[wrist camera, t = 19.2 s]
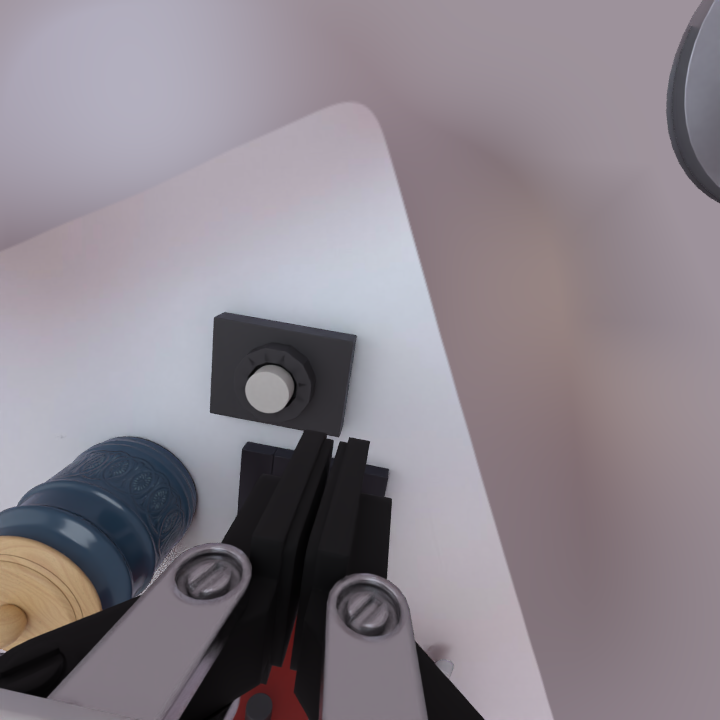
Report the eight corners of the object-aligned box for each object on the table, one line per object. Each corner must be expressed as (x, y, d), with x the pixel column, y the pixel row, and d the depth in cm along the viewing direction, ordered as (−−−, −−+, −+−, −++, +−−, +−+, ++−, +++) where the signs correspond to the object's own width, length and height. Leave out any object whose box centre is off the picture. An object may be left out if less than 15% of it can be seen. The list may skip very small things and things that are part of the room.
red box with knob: (366, 580, 46) (345, 757, 31) (354, 643, 49) (329, 832, 34) (239, 554, 47) (157, 714, 32) (234, 617, 50) (157, 791, 35)
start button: (296, 368, 36) (291, 376, 34) (292, 408, 37) (286, 417, 35) (254, 360, 36) (246, 367, 34) (251, 400, 37) (243, 409, 35)
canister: (58, 459, 46) (-145, 598, 29) (154, 413, 43) (-11, 539, 26) (129, 554, 49) (-19, 729, 32) (223, 517, 46) (115, 690, 29)
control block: (356, 335, 38) (350, 348, 34) (342, 426, 41) (335, 447, 37) (224, 311, 39) (203, 321, 35) (219, 403, 41) (200, 421, 38)
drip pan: (389, 468, 42) (388, 477, 40) (366, 581, 46) (365, 593, 45) (247, 441, 42) (241, 449, 41) (238, 555, 47) (233, 565, 45)
